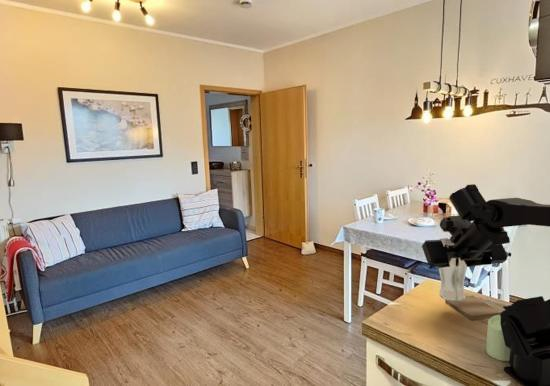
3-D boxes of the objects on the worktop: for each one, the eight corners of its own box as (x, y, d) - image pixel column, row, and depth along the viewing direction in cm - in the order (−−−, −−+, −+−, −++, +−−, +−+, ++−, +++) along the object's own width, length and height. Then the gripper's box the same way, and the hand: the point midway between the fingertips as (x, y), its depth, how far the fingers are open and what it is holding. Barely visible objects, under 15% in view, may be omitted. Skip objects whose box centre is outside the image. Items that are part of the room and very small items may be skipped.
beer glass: (466, 304, 85) (466, 246, 83) (435, 299, 89) (435, 243, 87) (468, 293, 91) (468, 238, 89) (439, 289, 95) (439, 236, 93)
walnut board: (501, 315, 90) (501, 312, 90) (471, 320, 88) (471, 316, 88) (472, 298, 100) (472, 295, 100) (445, 302, 98) (445, 299, 98)
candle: (499, 363, 72) (502, 326, 70) (480, 349, 76) (482, 315, 75) (519, 359, 73) (522, 323, 71) (499, 345, 78) (501, 311, 76)
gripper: (502, 205, 83) (471, 237, 95) (426, 209, 82) (405, 240, 95) (524, 246, 76) (489, 275, 89) (443, 250, 75) (418, 279, 88)
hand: (449, 266), depth 90 cm, fingers closed on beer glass, 6 cm apart
